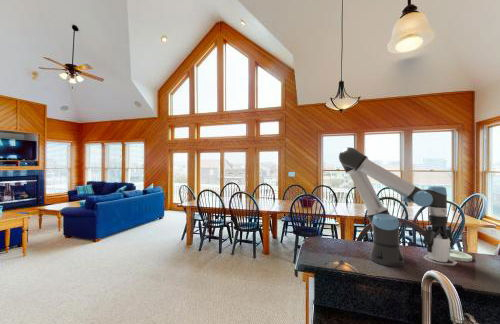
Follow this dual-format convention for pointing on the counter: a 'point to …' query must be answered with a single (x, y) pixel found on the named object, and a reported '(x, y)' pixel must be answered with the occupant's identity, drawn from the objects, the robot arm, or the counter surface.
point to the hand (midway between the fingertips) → (438, 258)
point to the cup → (441, 249)
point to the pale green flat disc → (460, 256)
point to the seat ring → (441, 263)
